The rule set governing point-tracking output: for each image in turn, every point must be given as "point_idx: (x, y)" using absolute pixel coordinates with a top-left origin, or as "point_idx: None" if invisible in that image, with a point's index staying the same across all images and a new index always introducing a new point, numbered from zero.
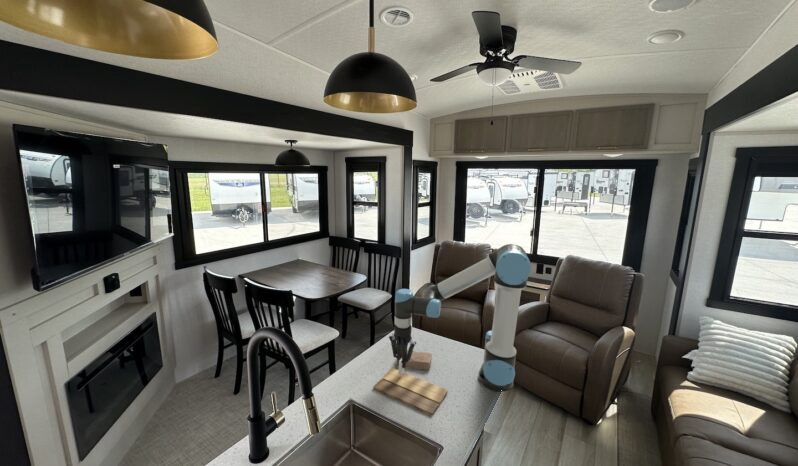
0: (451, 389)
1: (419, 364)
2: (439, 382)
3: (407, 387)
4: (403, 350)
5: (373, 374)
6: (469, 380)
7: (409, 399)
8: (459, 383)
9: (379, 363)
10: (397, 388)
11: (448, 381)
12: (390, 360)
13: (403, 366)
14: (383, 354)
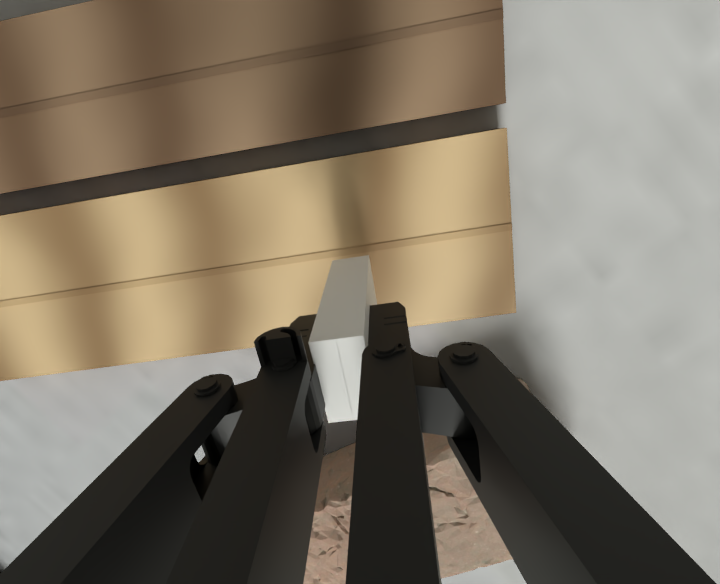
0: (17, 416)
1: (333, 480)
2: (124, 422)
3: (207, 193)
4: (208, 556)
5: (639, 130)
6: (26, 539)
7: (60, 66)
8: (37, 488)
9: (678, 301)
10: (264, 109)
11: (95, 464)
12: (606, 393)
13: (305, 325)
14: (714, 415)
